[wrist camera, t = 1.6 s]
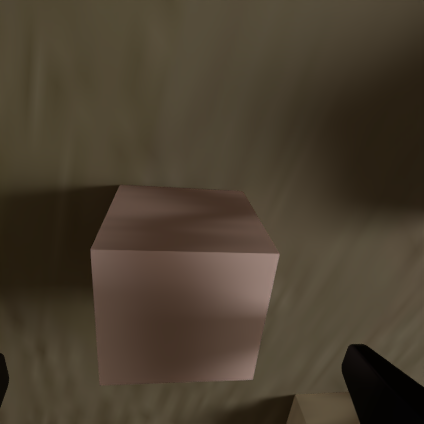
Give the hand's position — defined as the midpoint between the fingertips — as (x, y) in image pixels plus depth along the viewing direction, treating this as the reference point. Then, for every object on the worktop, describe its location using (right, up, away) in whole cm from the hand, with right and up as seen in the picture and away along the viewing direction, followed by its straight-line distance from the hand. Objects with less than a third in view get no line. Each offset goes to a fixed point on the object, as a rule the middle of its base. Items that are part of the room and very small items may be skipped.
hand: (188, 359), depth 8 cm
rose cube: (-1, +3, +6) cm, 6 cm away
